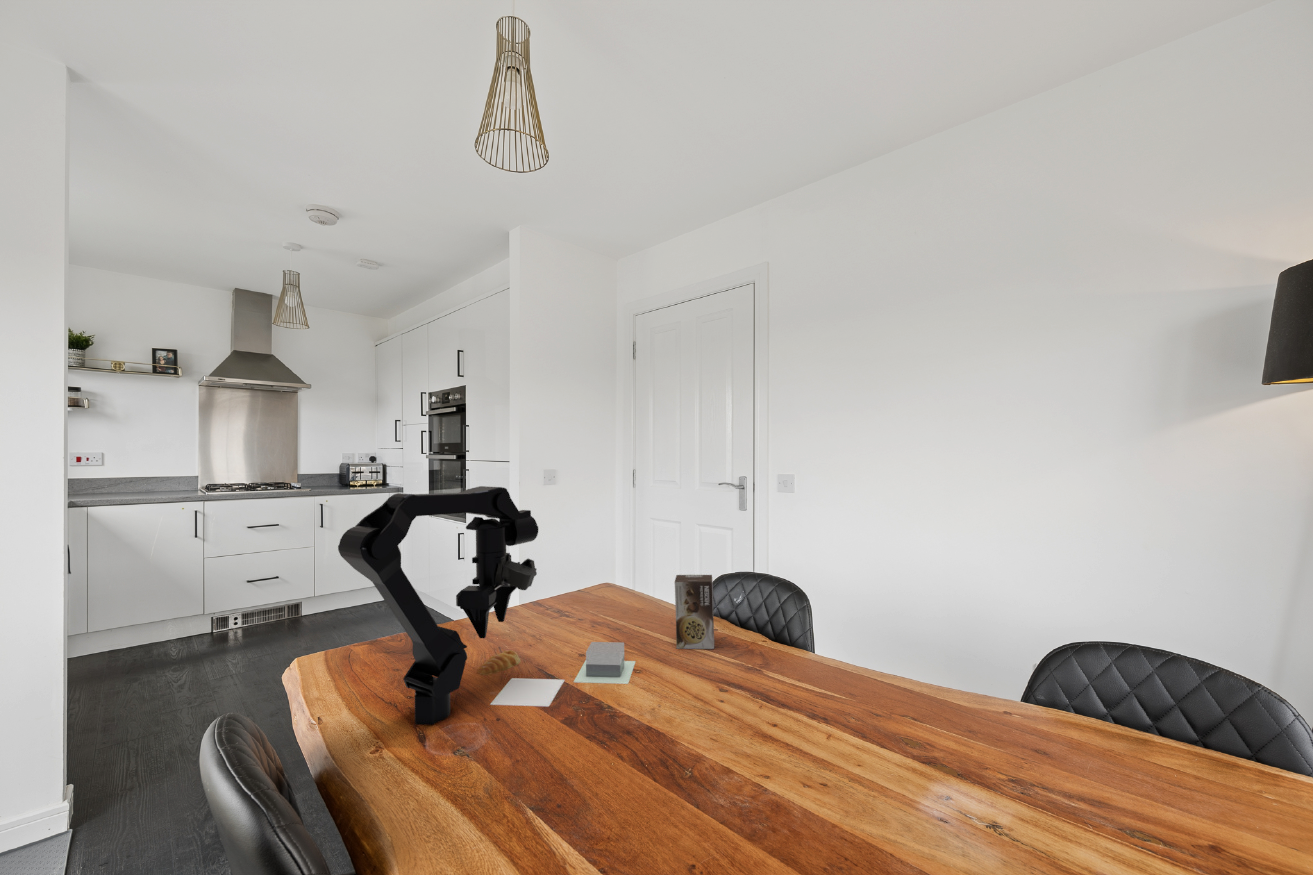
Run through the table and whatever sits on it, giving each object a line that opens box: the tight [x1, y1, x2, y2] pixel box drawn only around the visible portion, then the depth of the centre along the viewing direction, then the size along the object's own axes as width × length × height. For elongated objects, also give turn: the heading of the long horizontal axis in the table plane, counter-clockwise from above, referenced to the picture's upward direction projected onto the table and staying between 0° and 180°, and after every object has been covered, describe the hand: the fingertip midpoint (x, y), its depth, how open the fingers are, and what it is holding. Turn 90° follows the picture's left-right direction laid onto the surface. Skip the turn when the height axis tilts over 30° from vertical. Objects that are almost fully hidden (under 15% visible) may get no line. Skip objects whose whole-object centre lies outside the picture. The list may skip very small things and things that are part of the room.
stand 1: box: [489, 677, 565, 708], centre depth 104 cm, size 11×11×2 cm
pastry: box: [476, 649, 521, 676], centre depth 117 cm, size 9×7×4 cm
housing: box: [585, 641, 625, 677], centre depth 113 cm, size 6×7×5 cm
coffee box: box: [674, 574, 715, 650], centre depth 131 cm, size 9×6×16 cm
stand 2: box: [573, 659, 636, 685], centre depth 113 cm, size 11×11×2 cm
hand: (492, 629), depth 107 cm, fingers open, 9 cm apart
